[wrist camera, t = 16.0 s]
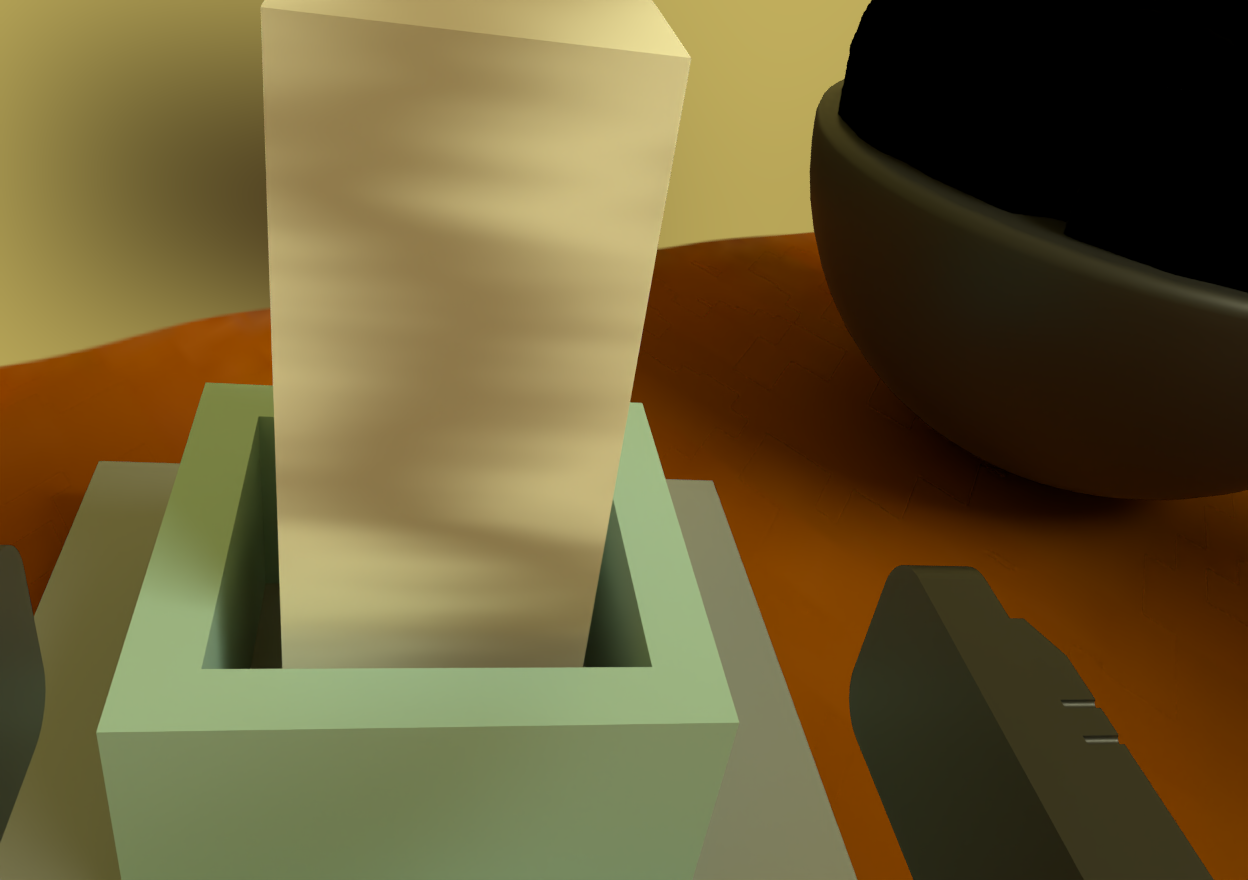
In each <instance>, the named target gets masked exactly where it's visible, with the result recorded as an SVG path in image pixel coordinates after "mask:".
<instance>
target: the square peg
mask: <svg viewBox="0 0 1248 880" xmlns="http://www.w3.org/2000/svg"><path fill="white" fill-rule="evenodd" d="M261 33H262V61H263V62H262V63H263V91H264V92H263V93H264V123H265V153H266V154H265V155H266V184H267V214H268V246H269V276H270V305H271V306H270V307H271V338H272V368H273V399H274V429H275V460H276V490H277V521H278V551H279V582H280V612H281V643H282V669H337V668H562V667H583V663H584V658H585V652H586V647H587V641H588V635H589V630H590V624H591V618H592V613H593V607H594V602H595V596H596V590H597V585H598V579H599V573H600V568H601V562H602V557H603V551H604V545H605V540H606V534H607V529H608V523H609V517H610V512H611V506H612V500H613V495H614V489H615V484H616V478H617V472H618V467H619V461H620V455H621V450H622V444H623V439H624V433H625V427H626V422H627V416H628V410H629V405H630V399H631V394H632V388H633V382H634V377H635V371H636V366H637V360H638V354H639V349H640V343H641V337H642V332H643V326H644V321H645V315H646V309H647V304H648V298H649V292H650V287H651V281H652V276H653V270H654V264H655V259H656V253H657V248H658V242H659V236H660V231H661V225H662V219H663V214H664V208H665V203H666V197H667V191H668V185H669V180H670V174H671V169H672V162H673V158H674V152H675V146H676V141H677V135H678V129H679V124H680V118H681V113H682V107H683V101H684V96H685V90H686V84H687V78H688V73H689V68H690V62H691V57H690V55H689V54H688V53H687V51H686V49H685V48H684V47H683V45H682V44H681V42H680V41H679V39H678V38H677V36H676V35H675V33H674V32H673V30H672V29H671V27H670V26H669V24H668V23H667V21H666V20H665V19H664V17H663V15H662V14H661V12H660V11H659V9H658V8H657V7H656V5H655V3H654V2H653V1H652V0H264V2H263V4H262V6H261Z"/></svg>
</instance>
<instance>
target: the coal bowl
mask: <svg viewBox="0 0 1248 880" xmlns="http://www.w3.org/2000/svg"><path fill="white" fill-rule="evenodd" d="M810 200H811V209H812V217H813V226H814V232H815V237H816V241H817V246H818V251H819V255H820V260H821V264H822V268H823V271H824V274H825V277H826V280H827V283H828V286H829V289H830V292H831V295H832V297H833V299H834V302H835V304H836V306H837V308H838V311H839V313H840V315H841V317H842V319H843V321H844V323H845V326H846V328H847V330H848V331H849V333H850V334H851V336H852V338H853V339H854V341H855V342H856V344H857V346H858V347H859V349H860V350H861V352H862V354H863V355H864V357H865V359H866V360H867V362H868V363H869V364H870V365H871V367H872V368H873V369H874V370H875V372H876V373H877V374H878V375H879V377H880V378H881V379H882V380H883V381H884V383H885V384H886V385H887V386H888V388H889V389H890V390H891V391H892V392H893V393H894V394H895V395H896V396H897V397H898V398H899V399H900V400H901V401H902V402H903V403H904V404H905V405H906V406H907V407H908V408H909V409H911V410H912V411H913V412H914V413H915V414H916V415H917V416H918V417H919V418H921V419H922V420H923V421H924V422H925V423H926V424H928V425H929V426H930V427H932V428H933V429H934V430H935V431H937V432H938V433H940V434H941V435H943V436H944V437H945V438H947V439H948V440H950V441H951V442H953V443H955V444H956V445H958V446H960V447H961V448H963V449H965V450H966V451H968V452H970V453H971V454H973V455H975V456H977V457H979V458H980V459H982V460H984V461H986V462H988V463H990V464H992V465H994V466H997V467H999V468H1001V469H1003V470H1006V471H1008V472H1010V473H1013V474H1015V475H1018V476H1021V477H1023V478H1026V479H1029V480H1032V481H1035V482H1038V483H1042V484H1045V485H1049V486H1052V487H1056V488H1060V489H1065V490H1069V491H1074V492H1079V493H1084V494H1090V495H1096V496H1102V497H1110V498H1119V499H1137V500H1179V499H1189V498H1198V497H1207V496H1216V495H1225V494H1229V493H1234V492H1239V491H1244V490H1248V0H872V1H871V3H870V4H869V5H868V6H867V9H866V11H865V12H864V13H863V16H862V17H861V21H860V24H859V27H858V29H857V32H856V33H855V35H854V38H853V40H852V43H851V45H850V54H849V59H848V62H847V69H846V74H845V79H844V80H842V81H839V82H838V83H836V84H835V85H833V86H831V87H830V88H829V89H828V90H827V91H826V92H825V93H824V95H823V97H822V99H821V101H820V103H819V105H818V107H817V111H816V116H815V121H814V129H813V136H812V147H811V162H810Z"/></svg>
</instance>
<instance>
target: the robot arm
mask: <svg viewBox="0 0 1248 880" xmlns="http://www.w3.org/2000/svg"><path fill="white" fill-rule="evenodd" d="M45 693H46V686H45V672H44V666H43V661H42V656H41V651H40V646H39V641H38V636H37V631H36V626H35V621H34V616H33V611H32V606H31V601H30V596H29V591H28V586H27V581H26V576H25V571H24V566H23V562H22V559H21V556H20V553H19V552H18V550H17V549H16V548H15V547H14V546H11V545H0V842H1V839H2V837H3V834H4V831H5V829H6V826H7V823H8V821H9V818H10V815H11V813H12V810H13V807H14V805H15V802H16V799H17V797H18V794H19V791H20V788H21V786H22V783H23V780H24V778H25V775H26V772H27V770H28V767H29V764H30V762H31V759H32V756H33V754H34V751H35V748H36V745H37V742H38V739H39V735H40V731H41V727H42V722H43V715H44V707H45ZM1094 701H1095V698H1094V697H1093V695H1092V694H1091V692H1090V691H1089V689H1088V688H1087V686H1086V685H1085V683H1084V682H1083V680H1082V679H1081V677H1080V676H1079V674H1078V673H1077V671H1076V670H1075V668H1074V666H1073V665H1072V663H1071V662H1070V660H1069V659H1068V657H1067V656H1066V655H1065V654H1064V653H1063V652H1061V651H1060V650H1059V649H1058V648H1057V647H1056V646H1054V645H1053V644H1052V643H1051V642H1050V641H1049V640H1048V639H1046V638H1045V637H1044V636H1043V635H1042V634H1041V633H1039V632H1038V631H1037V630H1036V629H1035V628H1034V627H1033V626H1031V625H1030V624H1029V623H1028V622H1027V621H1026V620H1025V619H1017V618H1009V617H1008V615H1007V613H1006V612H1005V610H1004V609H1003V607H1002V605H1001V604H1000V602H999V600H998V599H997V597H996V596H995V594H994V592H993V591H992V589H991V588H990V586H989V584H988V583H987V581H986V580H985V578H984V577H983V575H982V574H981V573H980V572H979V571H978V570H976V569H974V568H973V567H968V566H916V565H901V566H898V567H896V568H895V569H894V570H893V571H892V572H891V573H890V575H889V576H888V578H887V581H886V583H885V586H884V588H883V591H882V594H881V596H880V599H879V602H878V605H877V607H876V610H875V613H874V615H873V618H872V621H871V624H870V626H869V629H868V632H867V634H866V637H865V640H864V643H863V645H862V648H861V651H860V654H859V656H858V659H857V662H856V664H855V667H854V670H853V673H852V677H851V682H850V693H849V704H850V716H851V721H852V726H853V730H854V733H855V736H856V739H857V741H858V744H859V746H860V749H861V751H862V754H863V756H864V759H865V761H866V764H867V766H868V769H869V771H870V774H871V776H872V778H873V781H874V783H875V786H876V788H877V791H878V793H879V796H880V798H881V801H882V803H883V806H884V808H885V811H886V813H887V815H888V818H889V820H890V823H891V825H892V828H893V830H894V833H895V835H896V838H897V840H898V843H899V845H900V848H901V850H902V852H903V855H904V857H905V860H906V862H907V865H908V867H909V870H910V872H911V875H912V877H913V880H1213V878H1212V877H1211V875H1210V874H1209V872H1208V871H1207V869H1206V867H1205V866H1204V864H1203V863H1202V861H1201V860H1200V858H1199V857H1198V855H1197V854H1196V852H1195V851H1194V849H1193V848H1192V846H1191V845H1190V843H1189V842H1188V840H1187V839H1186V837H1185V836H1184V834H1183V832H1182V831H1181V829H1180V828H1179V826H1178V825H1177V823H1176V822H1175V820H1174V819H1173V817H1172V816H1171V814H1170V813H1169V811H1168V810H1167V808H1166V807H1165V805H1164V804H1163V802H1162V800H1161V799H1160V797H1159V796H1158V794H1157V793H1156V791H1155V790H1154V788H1153V787H1152V785H1151V784H1150V782H1149V781H1148V779H1147V778H1146V776H1145V775H1144V773H1143V772H1142V770H1141V769H1140V767H1139V765H1138V764H1137V762H1136V761H1135V759H1134V758H1133V756H1132V755H1131V753H1130V752H1129V750H1128V749H1127V747H1126V746H1125V744H1119V742H1118V733H1117V732H1116V730H1115V729H1114V727H1113V726H1112V724H1111V723H1110V721H1109V720H1108V718H1107V717H1106V715H1105V714H1104V712H1103V711H1102V709H1101V708H1096V707H1095V704H1094Z"/></svg>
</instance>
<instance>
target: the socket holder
mask: <svg viewBox="0 0 1248 880" xmlns="http://www.w3.org/2000/svg"><path fill="white" fill-rule="evenodd" d="M34 621H35V626H36V631H37V636H38V641H39V646H40V651H41V656H42V661H43V666H44V672H45V686H46V693H45V707H44V715H43V722H42V727H41V731H40V735H39V739H38V742H37V745H36V748H35V751H34V754H33V756H32V759H31V762H30V764H29V767H28V770H27V772H26V775H25V778H24V780H23V783H22V786H21V788H20V791H19V794H18V797H17V799H16V802H15V805H14V807H13V810H12V813H11V815H10V818H9V821H8V823H7V826H6V829H5V831H4V834H3V837H2V839H1V842H0V880H857V878H856V875H855V872H854V869H853V867H852V864H851V861H850V858H849V856H848V853H847V850H846V847H845V845H844V842H843V839H842V836H841V834H840V831H839V828H838V825H837V823H836V820H835V817H834V814H833V812H832V809H831V806H830V803H829V801H828V798H827V795H826V792H825V789H824V787H823V784H822V781H821V778H820V776H819V773H818V770H817V767H816V765H815V762H814V759H813V756H812V754H811V751H810V748H809V745H808V743H807V740H806V737H805V734H804V732H803V729H802V726H801V723H800V721H799V718H798V715H797V712H796V709H795V707H794V704H793V701H792V698H791V696H790V693H789V690H788V687H787V685H786V682H785V679H784V676H783V674H782V671H781V668H780V665H779V663H778V660H777V657H776V654H775V652H774V649H773V646H772V643H771V641H770V638H769V635H768V632H767V630H766V627H765V624H764V621H763V618H762V616H761V613H760V610H759V607H758V605H757V602H756V599H755V596H754V594H753V591H752V588H751V585H750V583H749V580H748V577H747V574H746V572H745V569H744V566H743V563H742V561H741V558H740V555H739V552H738V550H737V547H736V544H735V541H734V538H733V536H732V533H731V530H730V527H729V525H728V522H727V519H726V516H725V514H724V511H723V508H722V505H721V503H720V500H719V497H718V494H717V492H716V489H715V486H714V483H713V481H705V480H674V479H665V476H664V473H663V470H662V466H661V463H660V460H659V456H658V453H657V450H656V447H655V443H654V440H653V437H652V433H651V430H650V427H649V424H648V420H647V417H646V414H645V410H644V407H643V404H642V403H631V402H630V405H629V410H628V416H627V422H626V427H625V433H624V439H623V444H622V450H621V455H620V461H619V467H618V472H617V478H616V484H615V489H614V495H613V500H612V506H611V512H610V517H609V523H608V529H607V534H606V540H605V545H604V551H603V557H602V562H601V568H600V573H599V579H598V585H597V590H596V596H595V602H594V607H593V613H592V618H591V624H590V630H589V635H588V641H587V647H586V652H585V658H584V663H583V667H562V668H337V669H282V643H281V612H280V582H279V551H278V521H277V490H276V460H275V429H274V399H273V386H267V385H246V384H224V383H205V386H204V390H203V393H202V396H201V399H200V402H199V406H198V409H197V412H196V415H195V418H194V422H193V425H192V428H191V431H190V434H189V438H188V441H187V444H186V447H185V450H184V454H183V457H182V460H181V463H180V464H176V463H145V462H114V461H99V462H98V465H97V467H96V470H95V472H94V474H93V477H92V479H91V481H90V484H89V486H88V489H87V491H86V493H85V496H84V498H83V501H82V503H81V505H80V508H79V510H78V512H77V515H76V517H75V520H74V522H73V524H72V527H71V529H70V532H69V534H68V536H67V539H66V541H65V544H64V546H63V548H62V551H61V553H60V555H59V558H58V560H57V563H56V565H55V567H54V570H53V572H52V575H51V577H50V579H49V582H48V584H47V586H46V589H45V591H44V594H43V596H42V598H41V601H40V603H39V606H38V608H37V610H36V613H35V615H34Z"/></svg>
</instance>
